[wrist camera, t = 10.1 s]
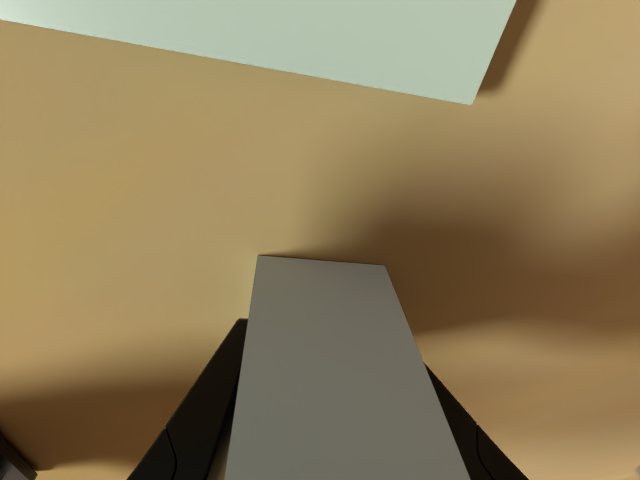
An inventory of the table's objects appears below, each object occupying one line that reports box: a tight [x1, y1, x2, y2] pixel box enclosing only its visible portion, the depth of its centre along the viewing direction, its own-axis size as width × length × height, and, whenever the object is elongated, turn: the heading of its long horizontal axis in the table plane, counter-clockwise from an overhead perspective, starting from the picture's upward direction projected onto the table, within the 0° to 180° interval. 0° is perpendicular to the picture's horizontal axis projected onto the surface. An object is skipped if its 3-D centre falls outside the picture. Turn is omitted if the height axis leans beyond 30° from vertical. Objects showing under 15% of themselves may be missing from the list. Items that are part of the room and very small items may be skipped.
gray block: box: [224, 255, 470, 480], centre depth 8 cm, size 4×4×6 cm
